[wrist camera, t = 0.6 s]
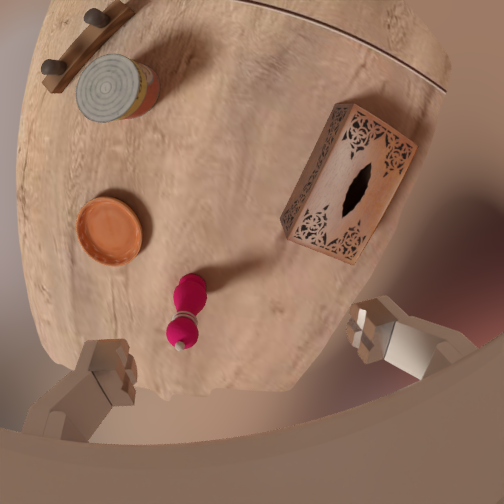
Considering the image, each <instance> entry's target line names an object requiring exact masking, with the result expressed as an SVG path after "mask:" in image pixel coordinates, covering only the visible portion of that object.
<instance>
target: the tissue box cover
mask: <svg viewBox="0 0 504 504" xmlns="http://www.w3.org/2000/svg"><path fill="white" fill-rule="evenodd" d="M418 147H419V146H418V145H416V144H415V143H414V142H412V141H411V140H410V139H408V138H407V137H405V136H404V135H403V134H401V133H400V132H398V131H397V130H395V129H394V128H393V127H391V126H390V125H388V124H387V123H385V122H384V121H382V120H381V119H379V118H377V117H376V116H374V115H373V114H371V113H370V112H368V111H366V110H365V109H363V108H361V107H360V106H358V105H356V104H355V103H345V104H335V106H334V108H333V110H332V112H331V114H330V116H329V118H328V120H327V122H326V125H325V127H324V129H323V131H322V133H321V135H320V137H319V139H318V141H317V143H316V145H315V147H314V150H313V152H312V154H311V156H310V158H309V160H308V162H307V164H306V166H305V168H304V170H303V172H302V174H301V176H300V178H299V181H298V183H297V185H296V187H295V189H294V191H293V193H292V195H291V197H290V199H289V201H288V203H287V205H286V207H285V209H284V211H283V213H282V215H281V217H280V221H281V224H282V226H283V229H284V232H285V235H286V238H287V240H290V241H292V242H295V243H298V244H300V245H303V246H305V247H308V248H310V249H313V250H315V251H318V252H321V253H323V254H326V255H328V256H331V257H333V258H336V259H338V260H341V261H343V262H346V263H348V264H351V265H353V266H354V264H355V263H356V261H357V259H358V258H359V256H360V255H361V253H362V251H363V250H364V248H365V246H366V245H367V243H368V241H369V240H370V238H371V236H372V234H373V233H374V231H375V229H376V227H377V226H378V224H379V222H380V220H381V219H382V217H383V215H384V213H385V212H386V210H387V208H388V206H389V204H390V202H391V201H392V199H393V197H394V195H395V193H396V191H397V189H398V187H399V185H400V183H401V181H402V180H403V178H404V176H405V174H406V172H407V170H408V168H409V166H410V164H411V162H412V159H413V157H414V155H415V153H416V151H417V149H418Z"/></svg>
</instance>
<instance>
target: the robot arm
mask: <svg viewBox="0 0 504 504" xmlns="http://www.w3.org/2000/svg"><path fill="white" fill-rule="evenodd" d="M349 314H350V315H351V319H350V320H349V321H348V323H347V329H346V330H347V336H348V339H349V341H350V343H351V344H352V346H354V347H357V348H358V354H359V356H360V357H361V358H362V360H363V361H364V363H365V364H369V363H372V362H375V361H378V360H381V359H384V360H386V361H388V362H389V363H391V364H393V365H395V366H397V367H399V368H400V369H402V370H404V371H406V372H407V373H409V374H411V375H413V376H415V377H417V378H418V379H420V381H418V382H416V383H413V384H411V385H409V386H407V387H405V388H402V389H400V390H398V391H396V392H393V393H391V394H388V395H386V396H383V397H381V398H378V399H376V400H373V401H371V402H368V403H365V404H363V405H360V406H357V407H354V408H352V409H348V410H346V411H343V412H340V413H336V414H333V415H330V416H327V417H324V418H320V419H316V420H313V421H309V422H305V423H302V424H298V425H294V426H290V427H286V428H281V429H277V430H272V431H267V432H262V433H257V434H251V435H246V436H240V437H234V438H226V439H219V440H211V441H202V442H191V443H178V444H158V445H118V444H98V443H89V442H88V440H89V439H90V437H91V436H92V435H93V433H94V432H95V431H96V429H97V428H98V426H99V425H100V424H101V422H102V421H103V420H104V418H105V417H106V415H107V414H108V413H109V412H110V410H111V409H112V406H131V405H134V402H135V394H136V390H135V388H134V386H133V385H134V384H135V383H136V382H137V366H136V363H135V360H134V357H133V356H132V355H130V354H129V348H130V347H129V345H128V343H127V340H125V339H106V340H87V341H86V342H85V343H84V346H83V349H82V351H81V354H80V357H79V360H78V362H77V365H76V368H75V371H71V372H70V373H69V374H67V375H66V376H65V377H64V378H63V379H62V380H60V381H59V382H58V383H57V384H56V385H55V386H53V387H52V388H51V389H50V390H49V391H48V392H47V393H45V394H44V395H43V396H42V397H41V398H40V399H38V400H37V401H36V402H35V403H34V404H33V405H32V406H31V407H30V408H29V411H28V414H27V417H26V420H25V423H24V426H23V429H22V432H21V433H20V432H16V431H12V430H7V429H4V428H0V504H504V332H503V333H501V334H500V335H498V336H497V337H495V338H494V339H492V340H491V341H489V342H488V343H486V344H485V345H483V346H482V347H480V348H477V347H476V346H475V345H474V344H473V343H472V342H470V340H469V339H468V338H466V337H465V336H464V335H463V334H462V333H461V332H459V331H456V330H453V329H450V328H446V327H444V326H440V325H438V324H435V323H431V322H428V321H426V320H423V319H420V318H416V317H414V316H410V317H409V316H408V315H407V314H406V313H405V312H404V311H403V310H402V309H400V308H399V307H398V306H397V305H396V304H395V303H394V302H393V301H392V300H391V299H390V298H389V297H388V296H385V295H384V296H380V297H377V298H374V299H371V300H367V301H362V302H359V303H354V304H352V305H351V306H350V310H349Z"/></svg>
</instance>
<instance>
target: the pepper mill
mask: <svg viewBox="0 0 504 504" xmlns="http://www.w3.org/2000/svg"><path fill="white" fill-rule="evenodd" d="M173 298H174V304H175V306H176V309H177V313H175V314H174V315H173V317H172V321H171V322H170V323H169V325H168V327H167V331H166V335H167V339H168V341H169V342H170V343H171V344H172V345H173V346H174V347H175V348H176V350H178V351H182V350H184V349H187V348H190V347H192V346H193V345H194V344H195V343H196V342H197V339H198V335H199V334H198V329H197V324H198V321H197V318H196V315H197V314H198V313H199V312H200V311H201V310H202V309H203V307H204V306H205V303H206V300H207V294H206V283H205V281H204V280H203V279H202V278H201V277H200V276H198V275H195V274H188V275H185V276H183V277H182V278H181V279H180V282H179V285H178V286H177V287H176V288H175V291H174V296H173Z"/></svg>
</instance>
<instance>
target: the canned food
mask: <svg viewBox="0 0 504 504" xmlns="http://www.w3.org/2000/svg"><path fill="white" fill-rule="evenodd" d="M159 92H160V82H159V78H158V76H157V74H156V73H155V71H154V70H153V69H152V68H150V67H149V66H147V65H144V64H141V63H138V62H136V61H134V60H131V59H129V58H127V57H125V56H123V55H119V54H107V55H104V56H101V57H99V58H97V59H95V60H94V61H92V62H91V63H90V64H89V65H88V66H87V67H86V68H85V70H84V71H83V72H82V74H81V76H80V78H79V80H78V83H77V87H76V101H77V105H78V108H79V110H80V111H81V113H82V114H83V115H84V116H85V117H86V118H88V119H89V120H91V121H94V122H98V123H106V122H110V121H115V120H122V119H133V118H137V117H140V116H142V115H144V114H145V113H147V112H148V111H149V110H150V109H151V108H152V107H153V106H154V104H155V103H156V101H157V99H158V96H159Z"/></svg>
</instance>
